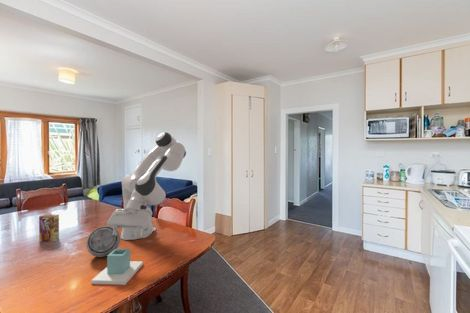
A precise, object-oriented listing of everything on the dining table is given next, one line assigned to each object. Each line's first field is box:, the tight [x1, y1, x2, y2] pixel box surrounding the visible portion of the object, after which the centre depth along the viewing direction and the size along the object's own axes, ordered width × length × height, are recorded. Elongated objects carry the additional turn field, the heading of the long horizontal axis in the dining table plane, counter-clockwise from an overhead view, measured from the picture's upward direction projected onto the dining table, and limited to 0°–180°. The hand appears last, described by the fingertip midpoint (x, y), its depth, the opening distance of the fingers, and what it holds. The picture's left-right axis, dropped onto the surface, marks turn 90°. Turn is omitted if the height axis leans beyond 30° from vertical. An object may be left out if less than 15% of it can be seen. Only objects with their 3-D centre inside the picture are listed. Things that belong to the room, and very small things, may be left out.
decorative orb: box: [86, 225, 121, 258], centre depth 115 cm, size 15×14×15 cm
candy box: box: [38, 214, 60, 243], centre depth 133 cm, size 9×4×15 cm, turn 89°
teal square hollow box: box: [106, 248, 131, 274], centre depth 98 cm, size 7×7×8 cm
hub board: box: [90, 260, 144, 286], centre depth 98 cm, size 16×14×2 cm
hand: (123, 235), depth 104 cm, fingers open, 8 cm apart
